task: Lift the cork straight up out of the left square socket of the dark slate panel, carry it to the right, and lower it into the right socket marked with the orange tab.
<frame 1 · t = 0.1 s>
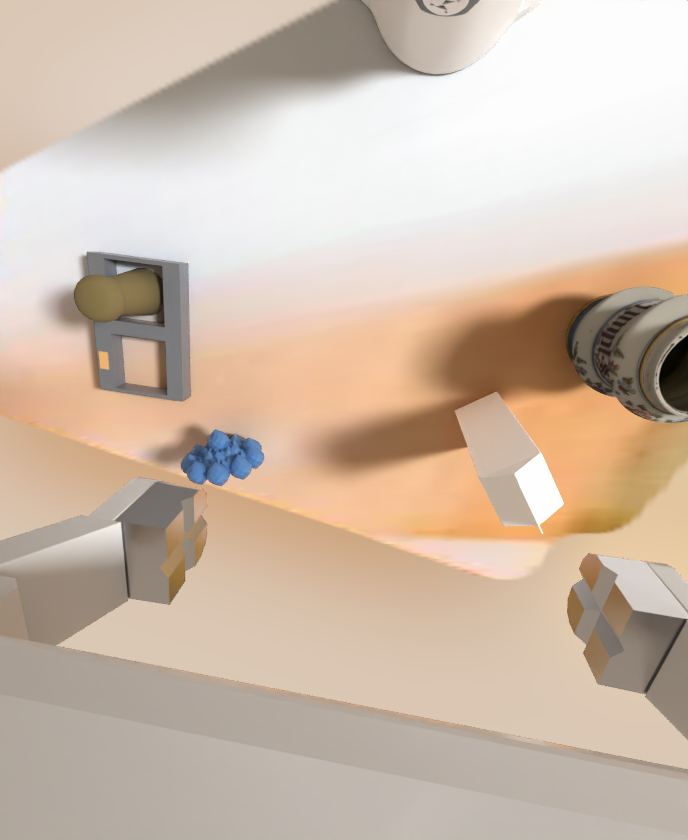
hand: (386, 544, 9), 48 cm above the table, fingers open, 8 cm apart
milk: (483, 418, 58), on the table
grapes: (237, 434, 63), on the table
apothecary jar: (608, 334, 52), on the table
panel: (147, 327, 59), on the table
cork: (146, 291, 57), resting in panel
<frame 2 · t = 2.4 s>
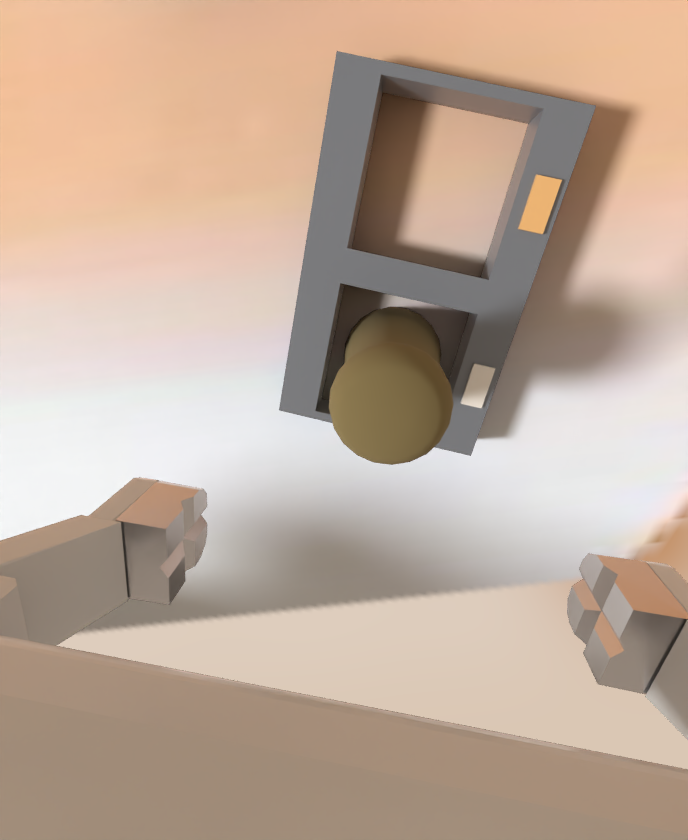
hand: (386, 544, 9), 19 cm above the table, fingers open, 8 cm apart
panel: (411, 279, 25), on the table
cork: (391, 355, 27), resting in panel
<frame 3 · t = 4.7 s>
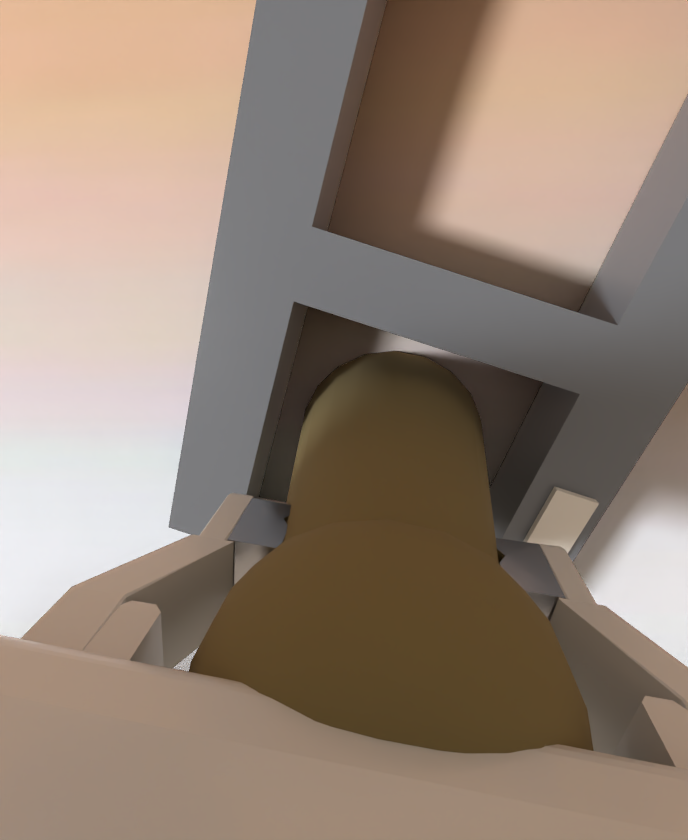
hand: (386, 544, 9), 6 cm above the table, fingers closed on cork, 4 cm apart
panel: (441, 302, 13), on the table
cork: (389, 437, 15), resting in panel, touching gripper
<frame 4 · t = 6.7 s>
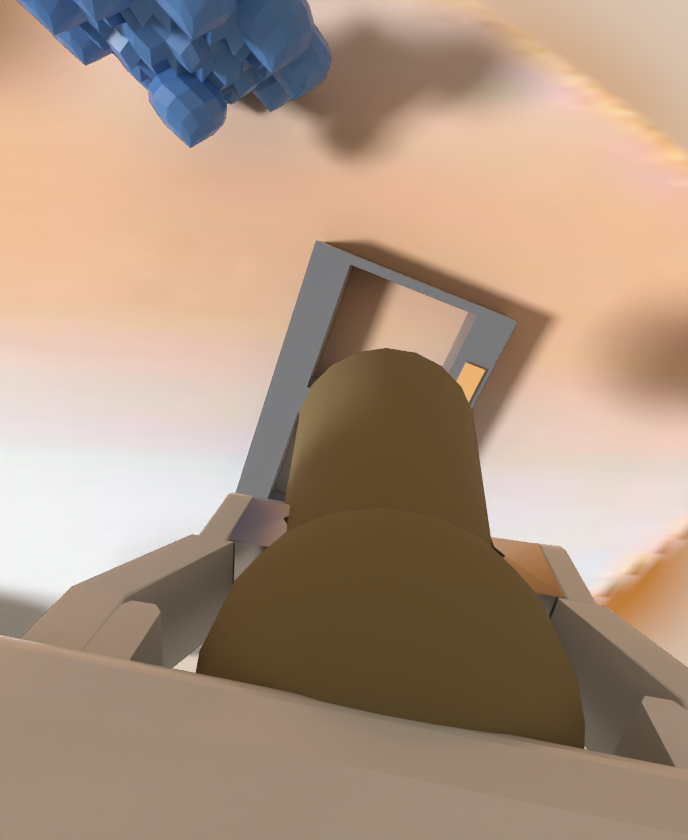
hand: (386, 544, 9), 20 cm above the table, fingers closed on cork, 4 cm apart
grapes: (235, 103, 24), on the table
panel: (361, 409, 29), on the table
cork: (384, 433, 15), point 14 cm above the table, touching gripper
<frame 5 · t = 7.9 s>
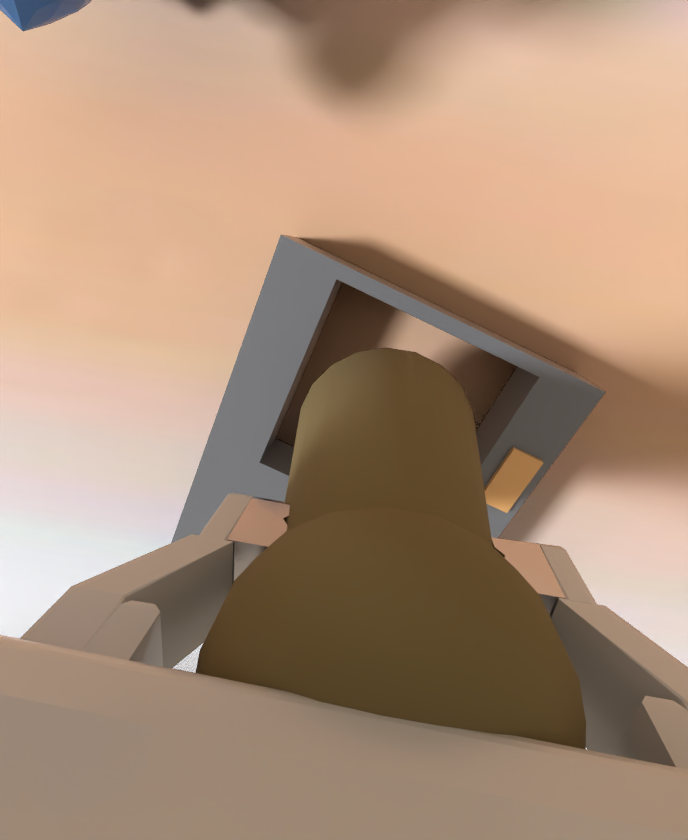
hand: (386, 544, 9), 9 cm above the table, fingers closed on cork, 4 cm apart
panel: (343, 489, 20), on the table
cork: (384, 432, 15), point 3 cm above the table, touching gripper
when the fingers open (6 cm above the table, at t = 8.9 s): cork stays where it is, resting in panel.
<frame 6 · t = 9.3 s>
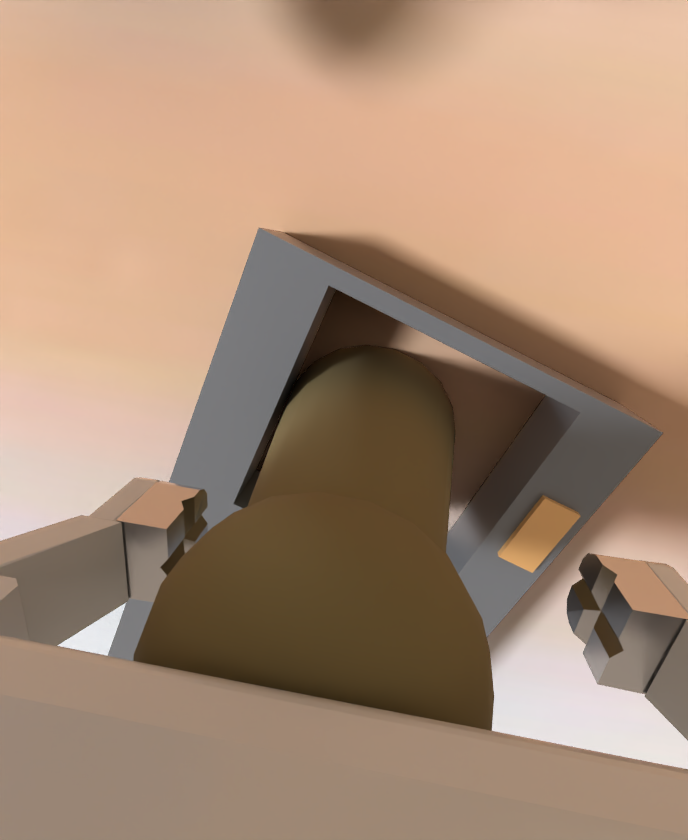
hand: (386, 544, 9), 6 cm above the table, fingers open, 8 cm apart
panel: (336, 529, 17), on the table
cork: (367, 428, 15), resting in panel
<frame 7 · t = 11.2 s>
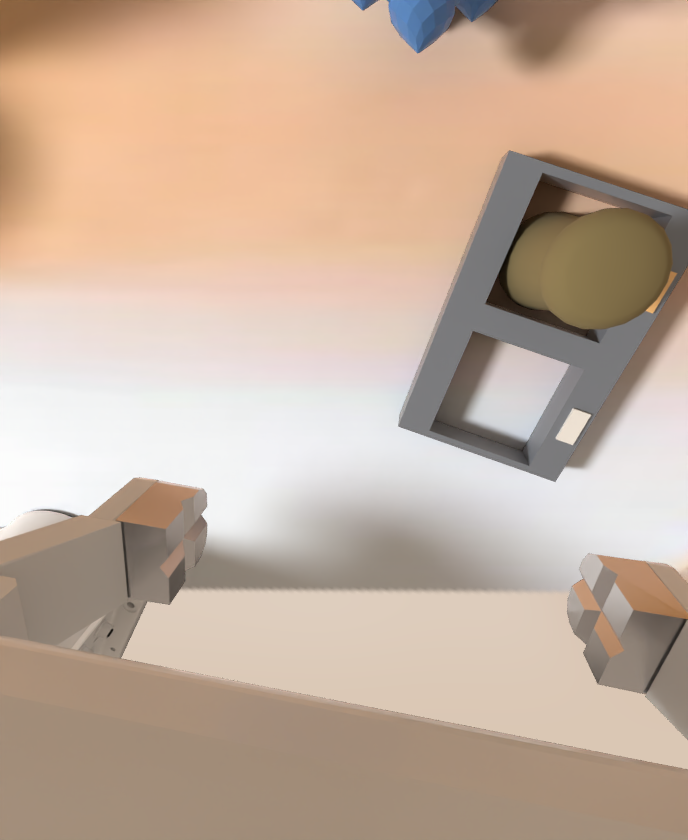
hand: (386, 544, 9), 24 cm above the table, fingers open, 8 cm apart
grapes: (423, 23, 25), on the table
panel: (526, 330, 30), on the table
cork: (545, 262, 28), resting in panel
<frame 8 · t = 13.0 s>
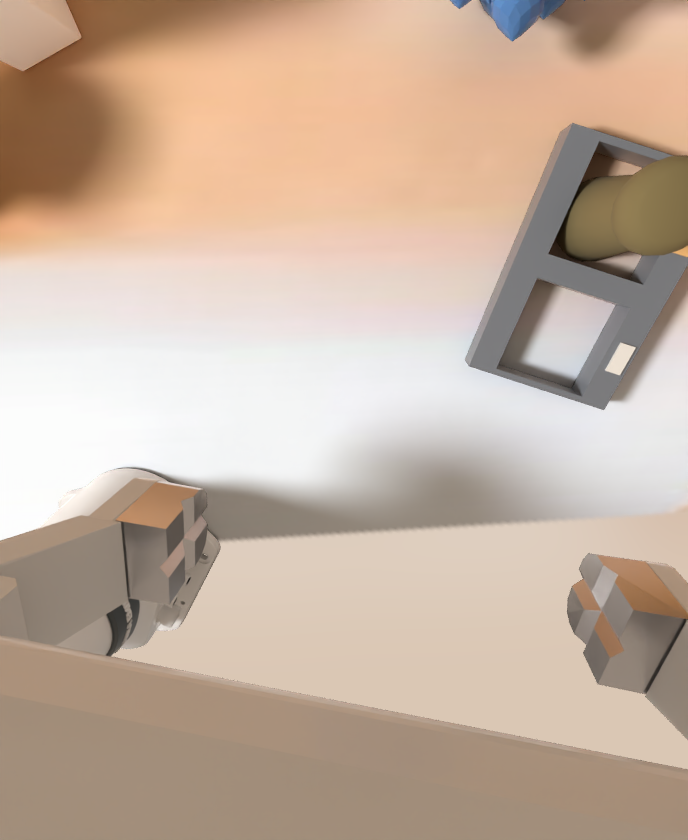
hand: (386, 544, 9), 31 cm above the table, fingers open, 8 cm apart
milk: (33, 12, 33), on the table
grapes: (498, 21, 30), on the table
panel: (577, 279, 35), on the table
cork: (594, 220, 34), resting in panel
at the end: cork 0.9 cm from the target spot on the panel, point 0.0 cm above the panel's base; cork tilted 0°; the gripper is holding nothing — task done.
